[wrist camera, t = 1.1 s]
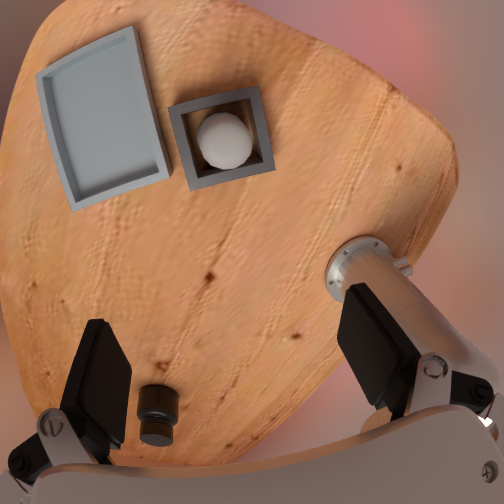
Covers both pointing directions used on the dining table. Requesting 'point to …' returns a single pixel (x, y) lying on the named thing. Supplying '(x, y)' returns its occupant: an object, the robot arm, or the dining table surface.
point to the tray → (102, 120)
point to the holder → (258, 129)
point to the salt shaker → (224, 140)
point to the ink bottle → (157, 415)
